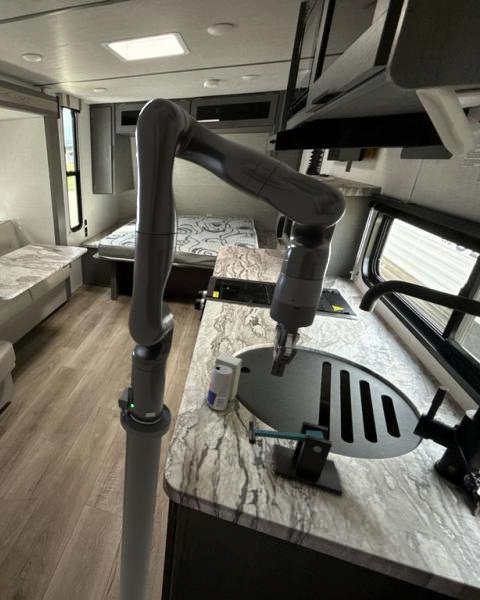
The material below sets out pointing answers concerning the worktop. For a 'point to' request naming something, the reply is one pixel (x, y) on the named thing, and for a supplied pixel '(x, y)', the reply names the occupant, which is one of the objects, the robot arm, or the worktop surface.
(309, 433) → the black and teal hammer
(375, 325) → the worktop surface
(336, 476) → the black lever stand
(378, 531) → the worktop surface
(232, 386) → the cosmetic box
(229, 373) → the energy drink
